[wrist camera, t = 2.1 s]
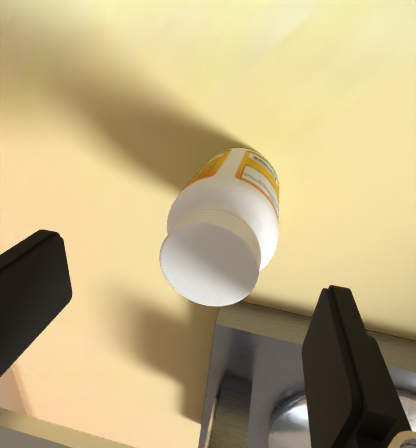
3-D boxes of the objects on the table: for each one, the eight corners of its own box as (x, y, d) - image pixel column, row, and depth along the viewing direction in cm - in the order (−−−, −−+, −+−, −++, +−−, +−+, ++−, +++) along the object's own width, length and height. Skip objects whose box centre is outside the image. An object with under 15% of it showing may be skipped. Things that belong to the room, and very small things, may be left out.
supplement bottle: (200, 217, 21) (147, 309, 13) (200, 144, 19) (135, 197, 10) (274, 225, 20) (269, 331, 12) (285, 149, 18) (287, 213, 9)
